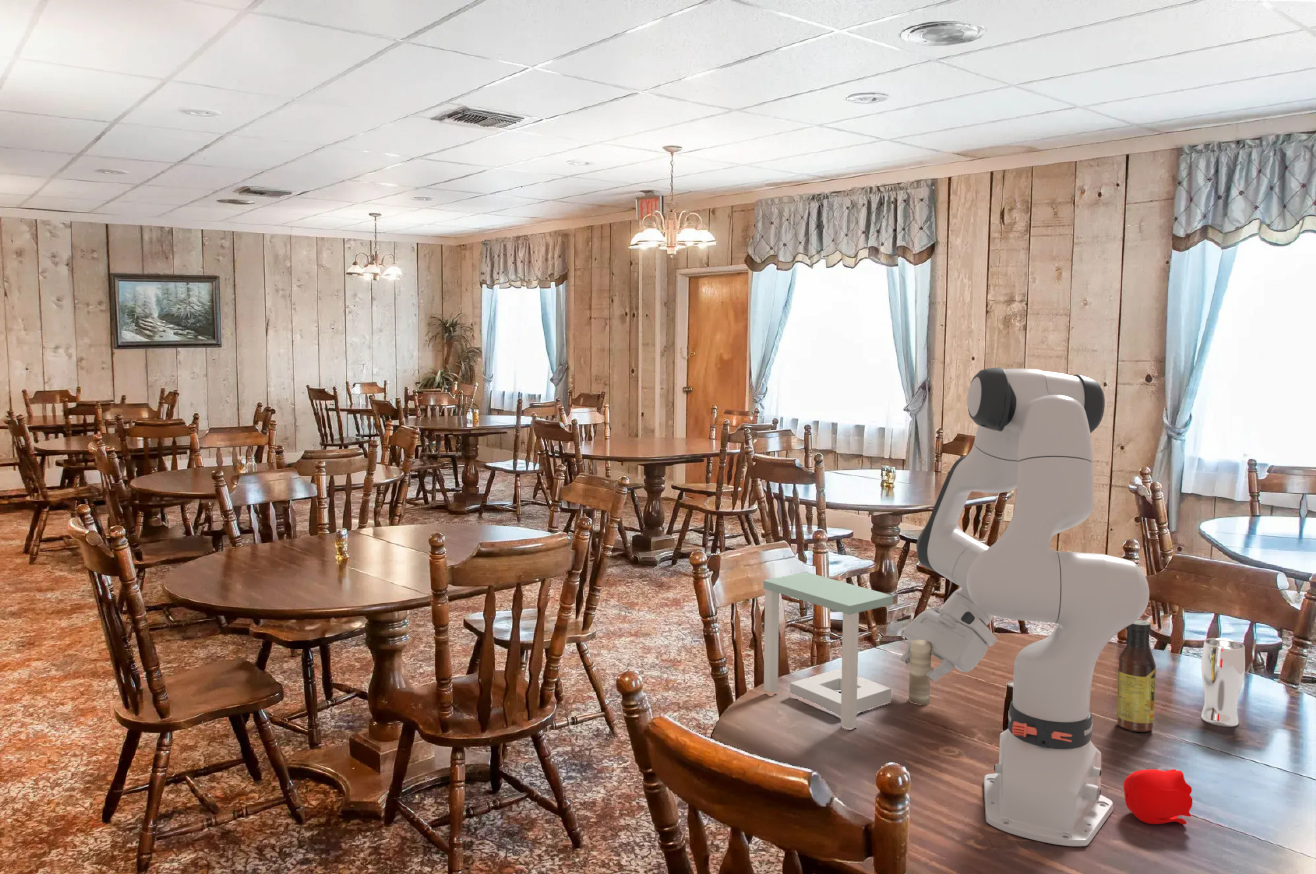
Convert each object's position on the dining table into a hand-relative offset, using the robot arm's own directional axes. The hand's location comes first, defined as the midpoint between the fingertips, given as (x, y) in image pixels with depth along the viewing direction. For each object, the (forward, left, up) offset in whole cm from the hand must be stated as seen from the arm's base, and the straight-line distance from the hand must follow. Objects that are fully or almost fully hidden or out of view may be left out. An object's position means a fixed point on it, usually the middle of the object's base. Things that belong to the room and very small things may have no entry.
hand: (917, 670), depth 185 cm
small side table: (-11, +15, -6) cm, 20 cm away
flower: (-30, -42, -7) cm, 52 cm away
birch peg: (0, 0, -6) cm, 6 cm away
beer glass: (+18, -52, -7) cm, 56 cm away
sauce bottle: (+7, -38, -7) cm, 40 cm away
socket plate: (-7, +14, -6) cm, 16 cm away
